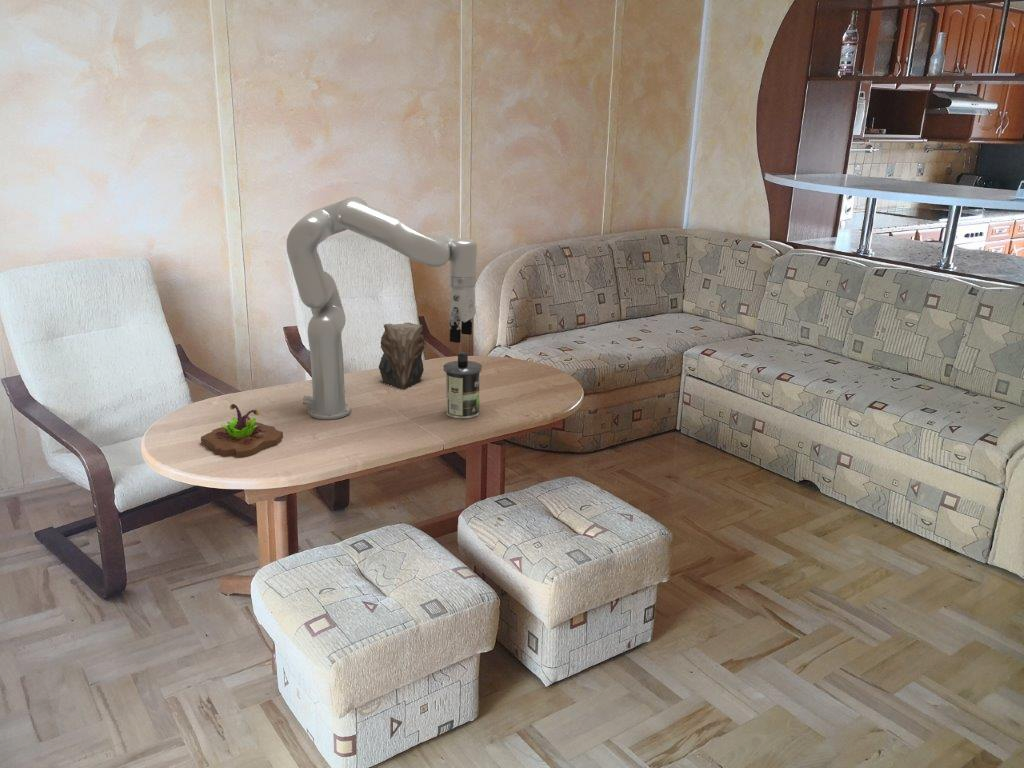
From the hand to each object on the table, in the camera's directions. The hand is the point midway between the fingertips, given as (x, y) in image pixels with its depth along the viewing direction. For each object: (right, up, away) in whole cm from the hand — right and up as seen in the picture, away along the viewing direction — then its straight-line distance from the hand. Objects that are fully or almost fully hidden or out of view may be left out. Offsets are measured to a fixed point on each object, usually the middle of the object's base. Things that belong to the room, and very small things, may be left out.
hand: (460, 338), depth 253 cm
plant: (-60, -30, -17) cm, 69 cm away
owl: (-22, -14, +33) cm, 42 cm away
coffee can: (0, -23, +8) cm, 24 cm away
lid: (0, -9, +3) cm, 10 cm away
